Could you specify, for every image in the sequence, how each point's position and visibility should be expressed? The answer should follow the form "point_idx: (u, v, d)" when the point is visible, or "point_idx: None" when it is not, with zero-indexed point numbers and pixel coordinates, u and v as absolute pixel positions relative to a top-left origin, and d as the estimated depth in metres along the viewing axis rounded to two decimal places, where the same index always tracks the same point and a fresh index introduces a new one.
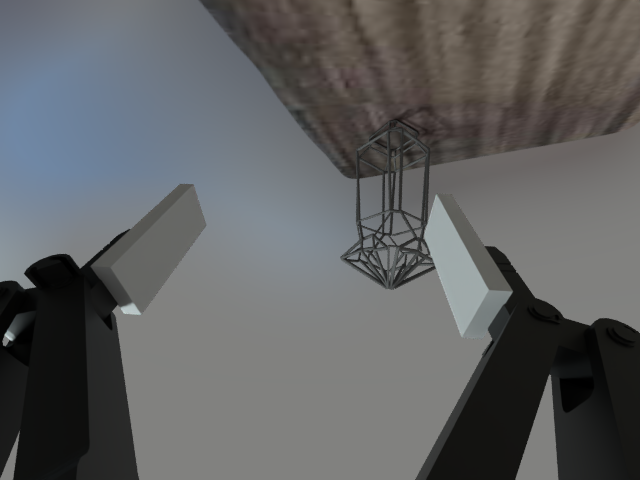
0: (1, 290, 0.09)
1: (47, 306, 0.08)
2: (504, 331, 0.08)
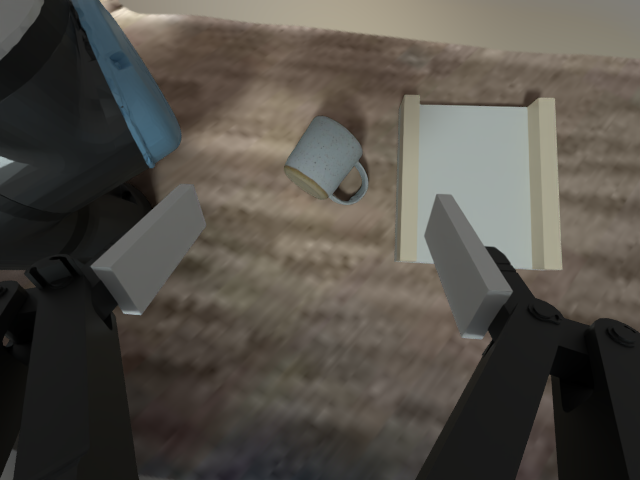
0: (1, 290, 0.09)
1: (47, 306, 0.08)
2: (504, 331, 0.08)
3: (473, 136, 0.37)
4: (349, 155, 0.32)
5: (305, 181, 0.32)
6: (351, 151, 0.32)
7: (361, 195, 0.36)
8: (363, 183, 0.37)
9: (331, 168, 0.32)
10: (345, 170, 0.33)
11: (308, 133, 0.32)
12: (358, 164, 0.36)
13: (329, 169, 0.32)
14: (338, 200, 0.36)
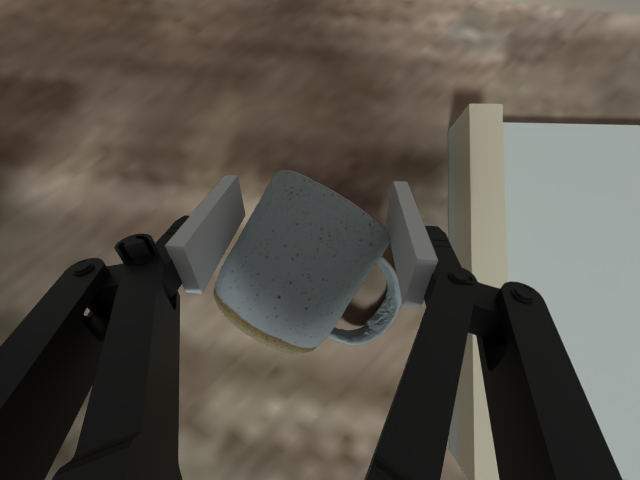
0: (89, 267, 0.10)
1: (127, 280, 0.09)
2: (431, 299, 0.09)
3: (609, 187, 0.18)
4: (363, 263, 0.13)
5: (258, 340, 0.13)
6: (367, 253, 0.13)
7: (389, 320, 0.17)
8: (391, 291, 0.18)
9: (322, 303, 0.13)
10: (355, 291, 0.14)
11: (261, 215, 0.13)
12: (380, 260, 0.17)
13: (316, 305, 0.13)
14: (342, 340, 0.17)
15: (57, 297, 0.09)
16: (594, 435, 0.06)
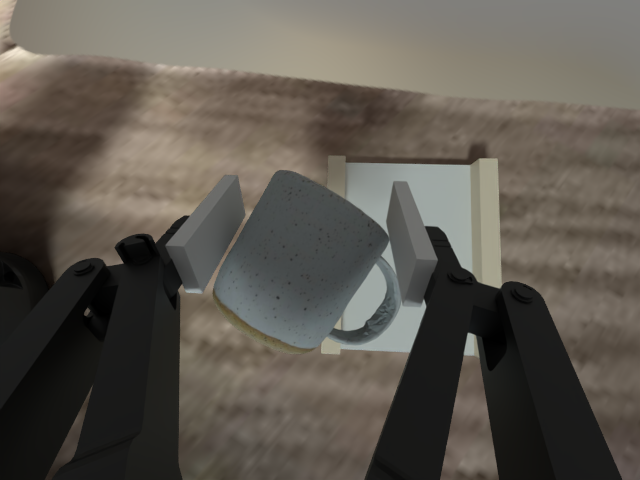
0: (89, 267, 0.10)
1: (128, 280, 0.09)
2: (430, 299, 0.09)
3: None
4: (362, 264, 0.13)
5: (257, 340, 0.13)
6: (366, 253, 0.13)
7: (388, 321, 0.17)
8: (390, 292, 0.18)
9: (321, 303, 0.13)
10: (354, 291, 0.14)
11: (260, 215, 0.13)
12: (379, 260, 0.17)
13: (315, 306, 0.13)
14: (341, 341, 0.17)
15: (57, 297, 0.09)
16: (594, 435, 0.06)
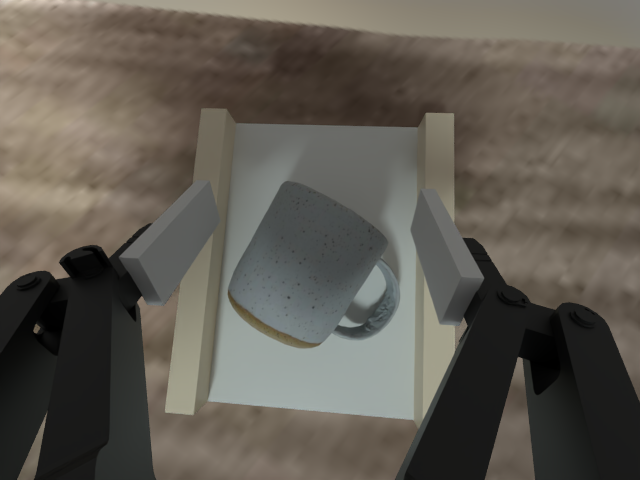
0: (35, 280, 0.09)
1: (78, 295, 0.09)
2: (476, 317, 0.08)
3: (326, 176, 0.22)
4: (364, 265, 0.15)
5: (270, 336, 0.14)
6: (367, 256, 0.15)
7: (388, 317, 0.19)
8: (389, 290, 0.19)
9: (327, 302, 0.14)
10: (356, 290, 0.16)
11: (270, 223, 0.15)
12: (379, 262, 0.18)
13: (322, 304, 0.14)
14: (345, 336, 0.18)
15: (1, 315, 0.08)
16: None
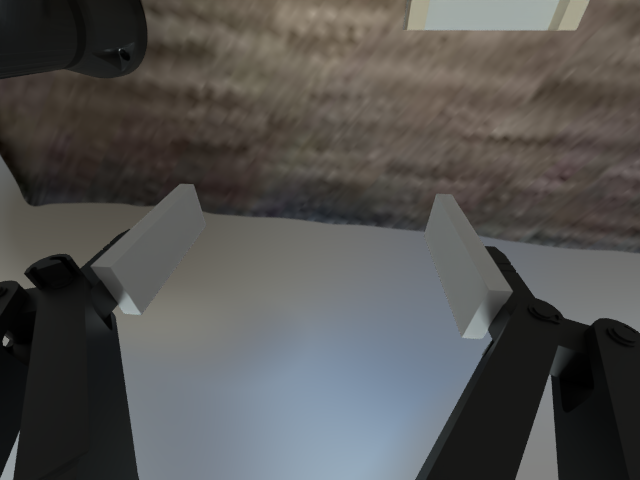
0: (1, 290, 0.09)
1: (47, 306, 0.08)
2: (504, 331, 0.08)
3: None
4: None
5: None
6: None
7: None
8: None
9: None
10: None
11: None
12: None
13: None
14: None
15: None
16: None
